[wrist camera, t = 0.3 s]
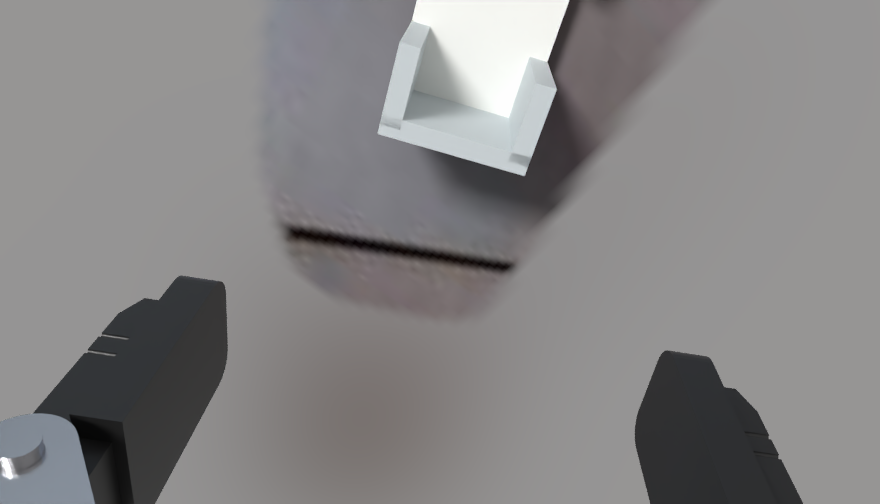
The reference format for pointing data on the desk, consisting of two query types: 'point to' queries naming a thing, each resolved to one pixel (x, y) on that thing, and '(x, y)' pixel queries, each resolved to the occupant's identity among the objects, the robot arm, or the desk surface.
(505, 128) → the bracket board
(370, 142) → the desk surface
